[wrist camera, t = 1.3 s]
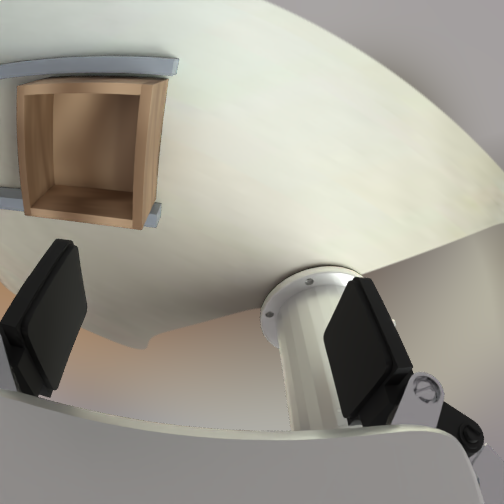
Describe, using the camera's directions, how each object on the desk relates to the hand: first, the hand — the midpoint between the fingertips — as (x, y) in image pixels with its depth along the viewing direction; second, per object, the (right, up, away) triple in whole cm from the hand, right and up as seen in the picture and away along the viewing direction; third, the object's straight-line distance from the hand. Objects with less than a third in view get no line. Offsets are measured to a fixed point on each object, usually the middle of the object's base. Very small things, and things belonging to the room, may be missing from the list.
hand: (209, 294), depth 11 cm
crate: (-11, +11, +12) cm, 19 cm away
